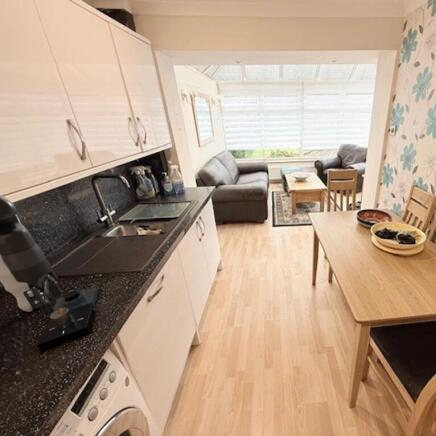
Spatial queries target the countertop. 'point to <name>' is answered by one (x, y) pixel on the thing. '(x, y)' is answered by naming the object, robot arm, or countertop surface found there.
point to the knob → (62, 318)
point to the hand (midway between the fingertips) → (54, 303)
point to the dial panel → (67, 330)
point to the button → (71, 295)
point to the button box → (78, 301)
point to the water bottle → (14, 287)
